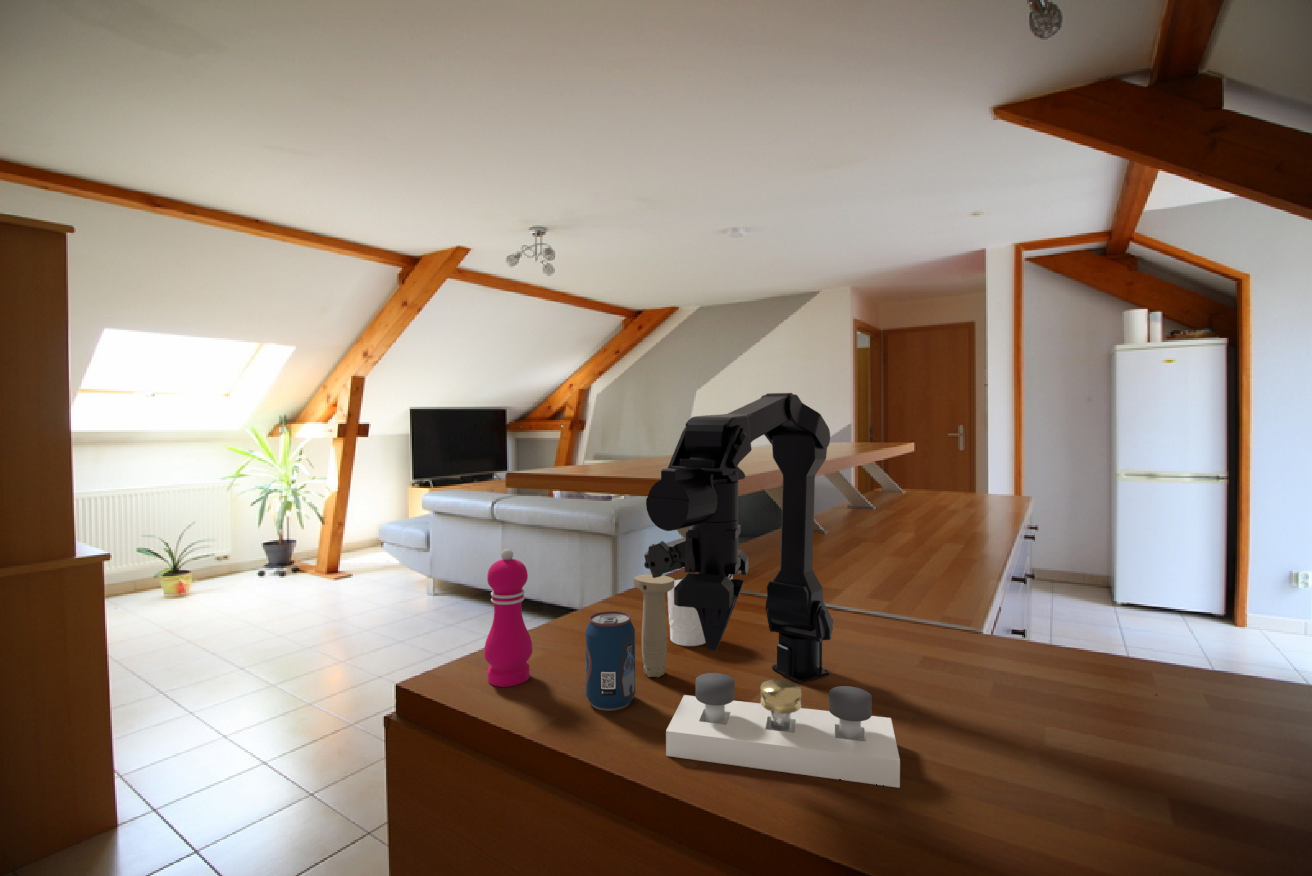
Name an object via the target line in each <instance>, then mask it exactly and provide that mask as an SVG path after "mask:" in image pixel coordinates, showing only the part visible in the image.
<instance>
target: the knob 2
mask: <svg viewBox="0 0 1312 876" xmlns="http://www.w3.org/2000/svg"><path fill="white" fill-rule="evenodd" d="M828 691H829V692H828V711H830V713H831V714H832V715H834V716H835V717H837V718H839V734H840V735H841V736H842V737H844V738H847V739H858V738H860V737H861V721H865V720H868V719H869V718H871V716H873V715H872V714H873V713H872V712H873V709H872V708H873V706H872V705H873V696H872V694H871V693H869V691H866V690H864V689H863V688H860V687H855V686H848V685H847V686H845V685H841V686H835V687H832V688H831V689H829V690H828Z"/></svg>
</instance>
